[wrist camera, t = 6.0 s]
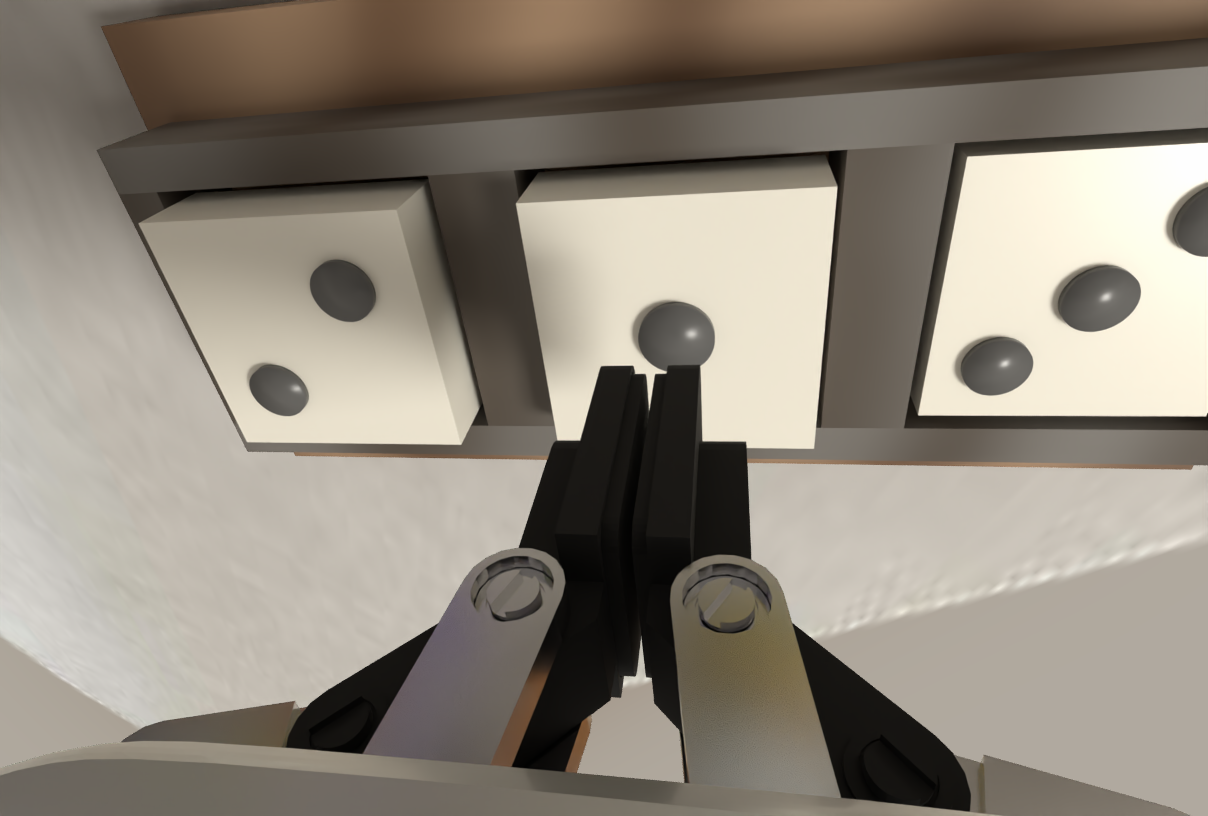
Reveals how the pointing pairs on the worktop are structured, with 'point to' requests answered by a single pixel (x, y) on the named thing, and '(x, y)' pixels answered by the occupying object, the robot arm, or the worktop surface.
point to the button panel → (669, 160)
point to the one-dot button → (687, 286)
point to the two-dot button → (324, 311)
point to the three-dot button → (1070, 279)
